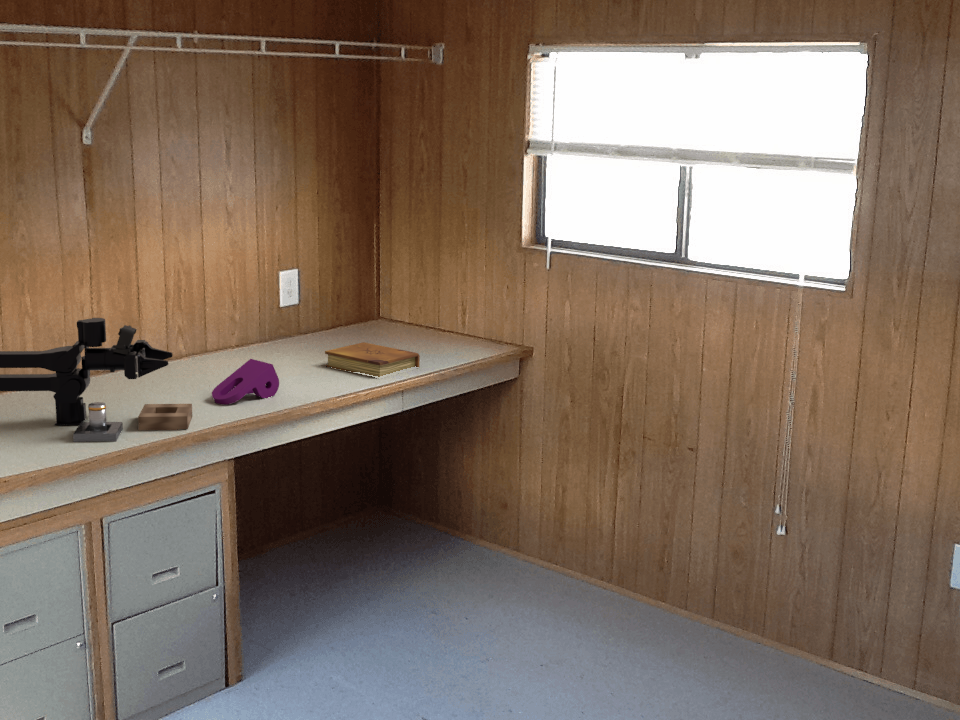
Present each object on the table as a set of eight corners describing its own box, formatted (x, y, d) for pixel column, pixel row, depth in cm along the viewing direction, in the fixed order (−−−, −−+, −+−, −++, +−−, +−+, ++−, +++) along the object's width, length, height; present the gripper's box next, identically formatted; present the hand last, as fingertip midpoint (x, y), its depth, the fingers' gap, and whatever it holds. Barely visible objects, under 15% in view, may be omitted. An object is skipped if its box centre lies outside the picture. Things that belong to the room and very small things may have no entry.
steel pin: (88, 438, 278) (86, 406, 276) (91, 433, 282) (89, 402, 280) (105, 437, 279) (104, 406, 277) (108, 433, 283) (107, 402, 281)
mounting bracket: (237, 426, 312) (282, 388, 322) (226, 402, 308) (272, 364, 318) (216, 419, 318) (261, 382, 328) (204, 395, 313) (250, 358, 324)
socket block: (138, 430, 285) (138, 416, 285) (145, 417, 297) (144, 404, 296) (187, 429, 287) (187, 416, 286) (192, 416, 299) (191, 403, 298)
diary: (419, 370, 358) (419, 352, 357) (379, 381, 343) (380, 362, 342) (365, 358, 371) (365, 341, 370) (324, 368, 356) (324, 350, 355)
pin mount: (73, 441, 275) (73, 434, 274) (81, 429, 284) (81, 422, 284) (116, 441, 276) (115, 433, 276) (122, 429, 286) (122, 421, 285)
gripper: (99, 335, 277) (164, 335, 280) (111, 320, 295) (173, 320, 298) (101, 380, 280) (166, 379, 282) (113, 362, 298) (174, 362, 300)
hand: (170, 358), depth 290 cm, fingers open, 9 cm apart
